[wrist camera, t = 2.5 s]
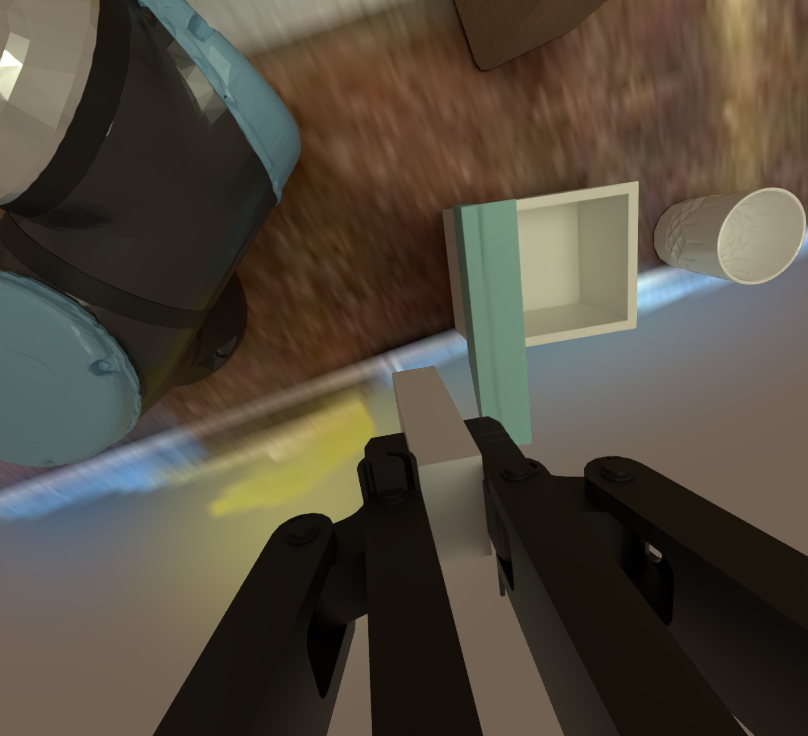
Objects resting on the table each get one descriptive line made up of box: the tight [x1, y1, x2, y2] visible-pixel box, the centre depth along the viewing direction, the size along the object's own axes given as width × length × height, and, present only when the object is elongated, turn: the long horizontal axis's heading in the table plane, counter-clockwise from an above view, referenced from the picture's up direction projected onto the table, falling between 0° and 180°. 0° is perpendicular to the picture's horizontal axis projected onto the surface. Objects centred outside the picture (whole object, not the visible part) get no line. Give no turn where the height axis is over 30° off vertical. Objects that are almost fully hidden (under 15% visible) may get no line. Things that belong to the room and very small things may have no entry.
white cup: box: [654, 188, 806, 284], centre depth 44 cm, size 8×8×10 cm
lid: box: [453, 199, 532, 445], centre depth 31 cm, size 15×13×2 cm
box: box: [442, 181, 638, 347], centre depth 43 cm, size 14×12×10 cm
